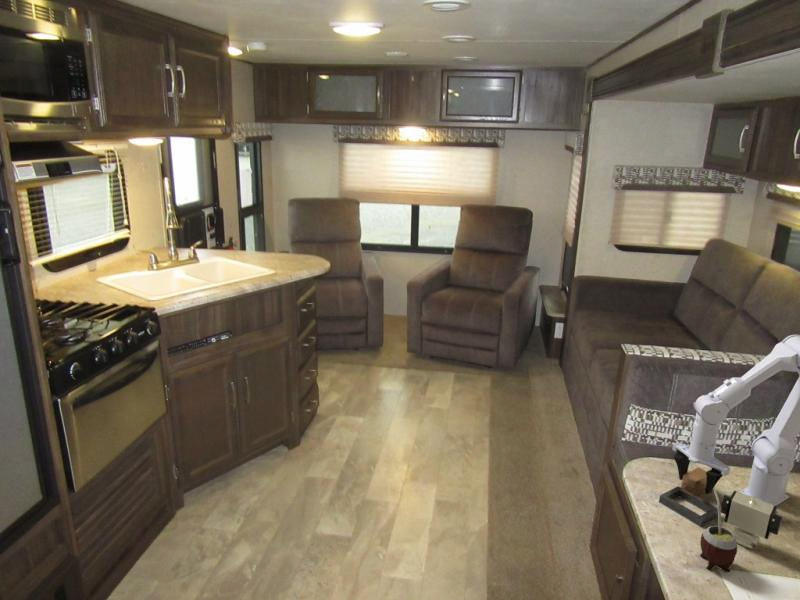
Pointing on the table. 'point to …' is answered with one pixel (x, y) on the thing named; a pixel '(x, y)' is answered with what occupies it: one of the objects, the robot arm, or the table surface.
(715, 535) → the mate gourd
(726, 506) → the pneumatic valve
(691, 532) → the table surface
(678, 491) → the duct collar
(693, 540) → the table surface
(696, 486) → the brown rectangular block
